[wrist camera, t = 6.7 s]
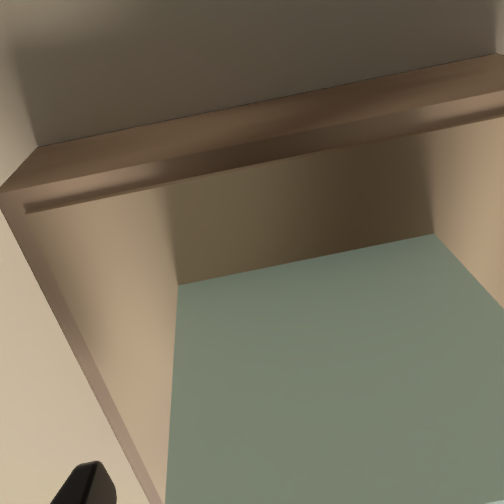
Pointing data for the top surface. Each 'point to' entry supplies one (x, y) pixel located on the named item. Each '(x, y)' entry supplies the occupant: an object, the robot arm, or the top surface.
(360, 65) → the top surface
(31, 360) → the top surface
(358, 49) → the top surface
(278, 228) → the square wooden tray
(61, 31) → the top surface
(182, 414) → the sage cube
